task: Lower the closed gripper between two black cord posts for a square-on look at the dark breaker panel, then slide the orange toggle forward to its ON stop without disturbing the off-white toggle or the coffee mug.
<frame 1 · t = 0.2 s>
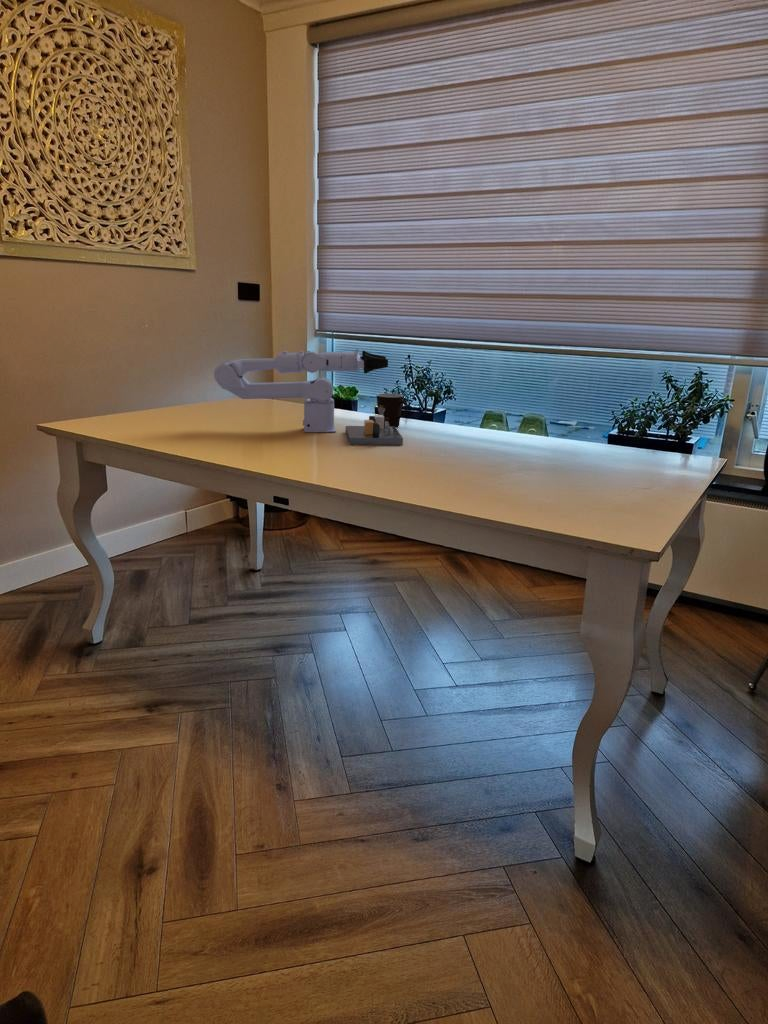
hand: (386, 361, 199), 21 cm above the table, tool horizontal, fingers open, 7 cm apart
toggle orange: (369, 427, 191), point 4 cm above the table, slide at 0.0 cm
coffee mug: (390, 427, 213), on the table
toggle white: (379, 421, 200), point 4 cm above the table, slide at 0.0 cm
panel: (373, 438, 195), on the table
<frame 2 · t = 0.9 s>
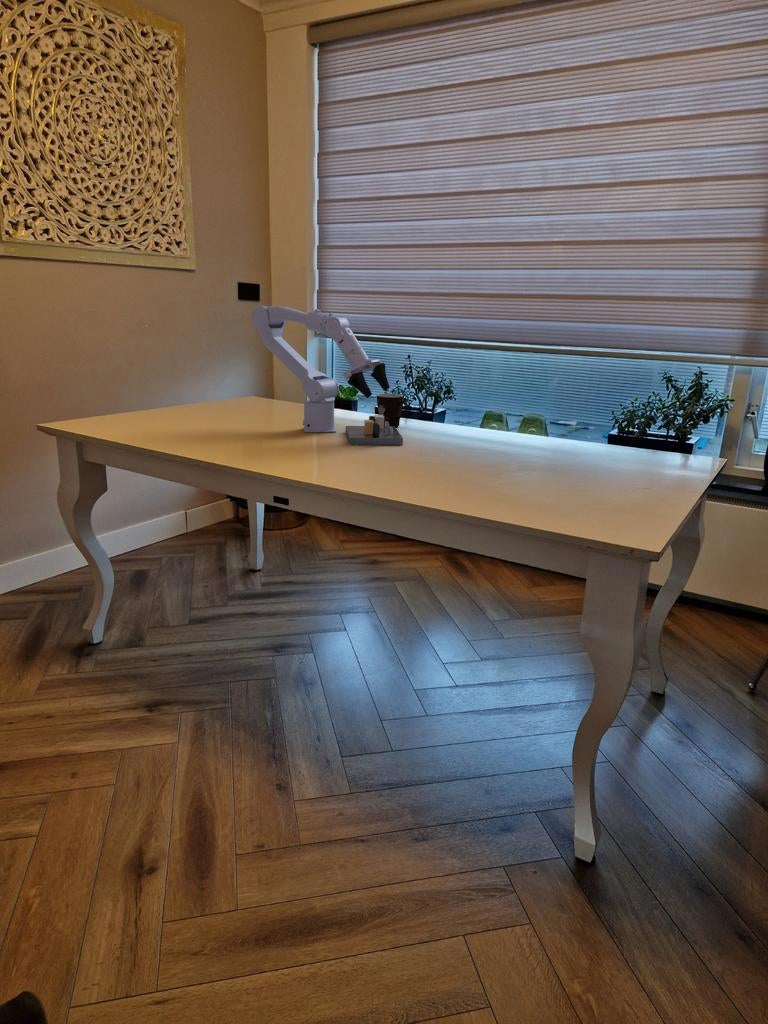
hand: (378, 392, 191), 13 cm above the table, tool tilted 40°, fingers open, 7 cm apart
nothing on the table moved.
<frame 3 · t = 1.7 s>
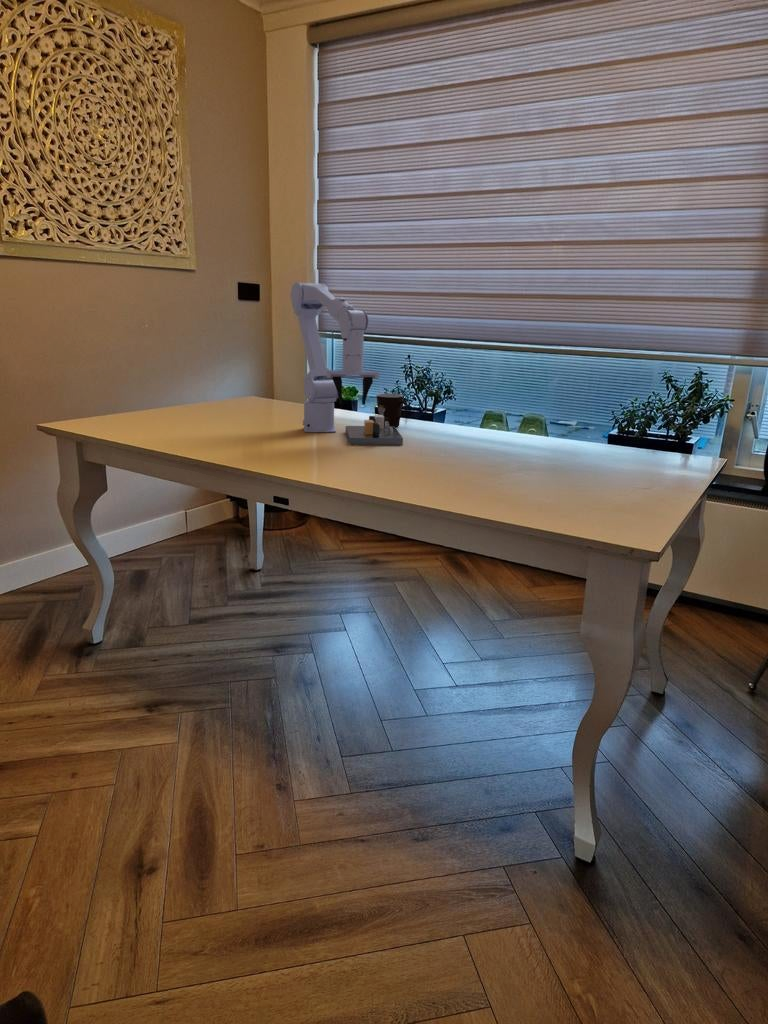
hand: (352, 404, 188), 10 cm above the table, tool pointing down, fingers open, 6 cm apart
nothing on the table moved.
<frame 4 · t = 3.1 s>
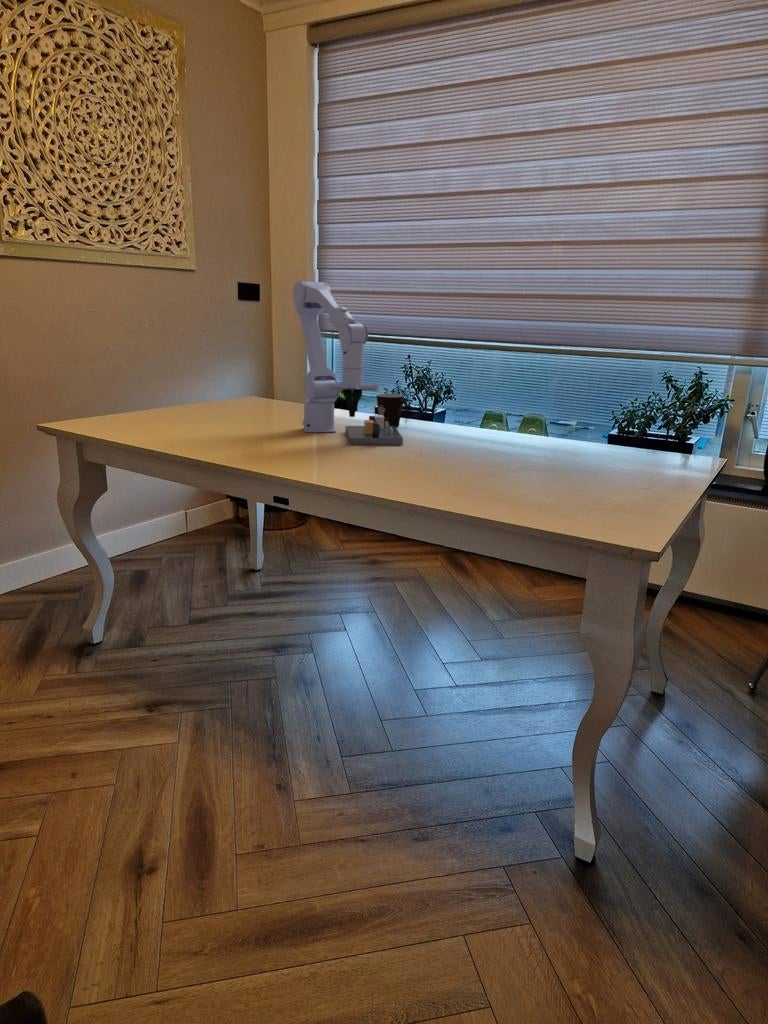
hand: (351, 416, 189), 7 cm above the table, tool pointing down, fingers closed
nothing on the table moved.
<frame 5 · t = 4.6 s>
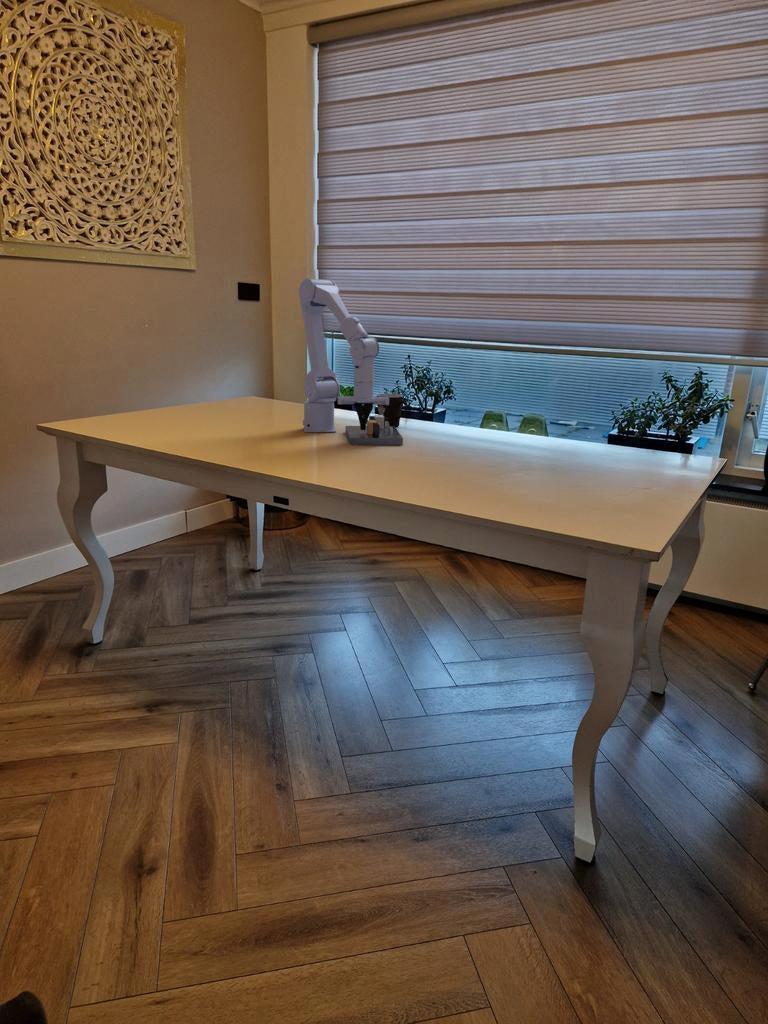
hand: (362, 429, 191), 3 cm above the table, tool pointing down, fingers closed
toggle orange: (371, 427, 191), point 4 cm above the table, slide at 0.8 cm, touching gripper
everything else where it was.
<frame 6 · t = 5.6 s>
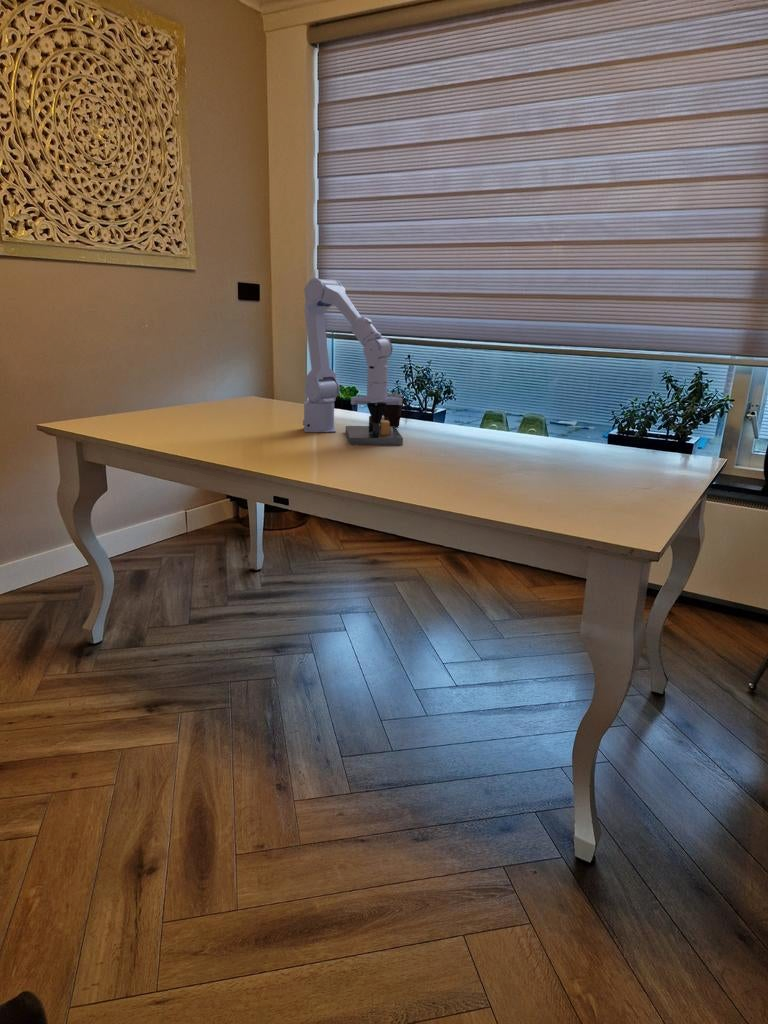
hand: (375, 429, 191), 3 cm above the table, tool pointing down, fingers closed
toggle orange: (384, 427, 191), point 4 cm above the table, slide at 4.5 cm, touching gripper
everything else where it was.
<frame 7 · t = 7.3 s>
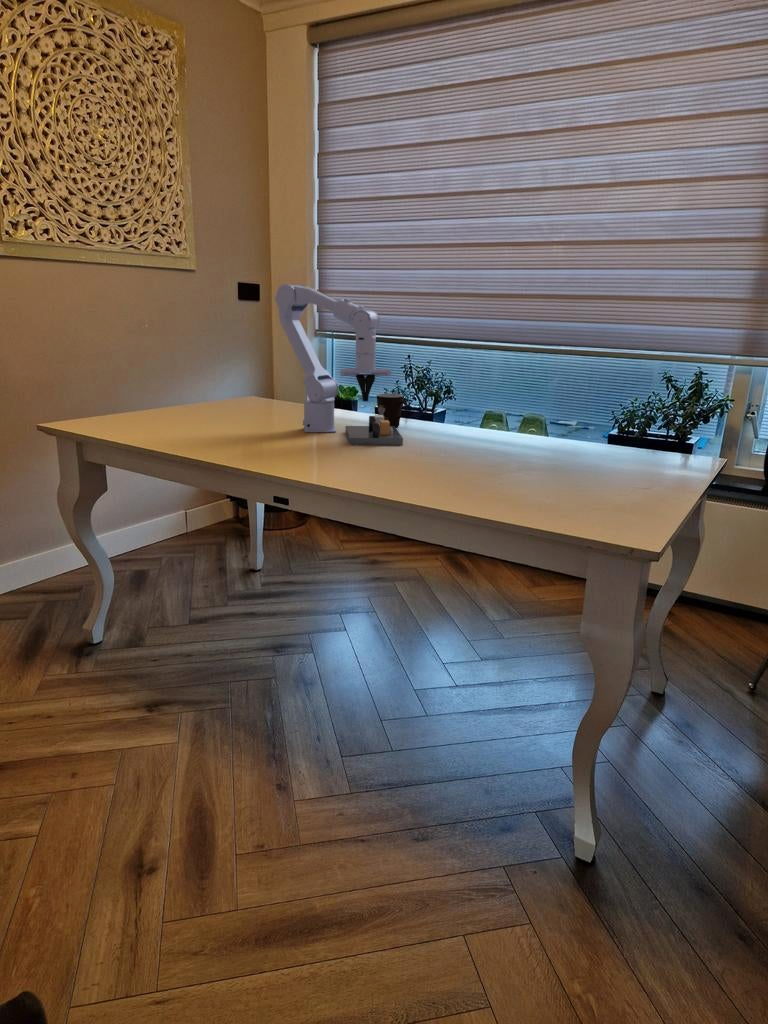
hand: (365, 401, 195), 10 cm above the table, tool pointing down, fingers closed
toggle orange: (384, 427, 191), point 4 cm above the table, slide at 4.5 cm
everything else where it was.
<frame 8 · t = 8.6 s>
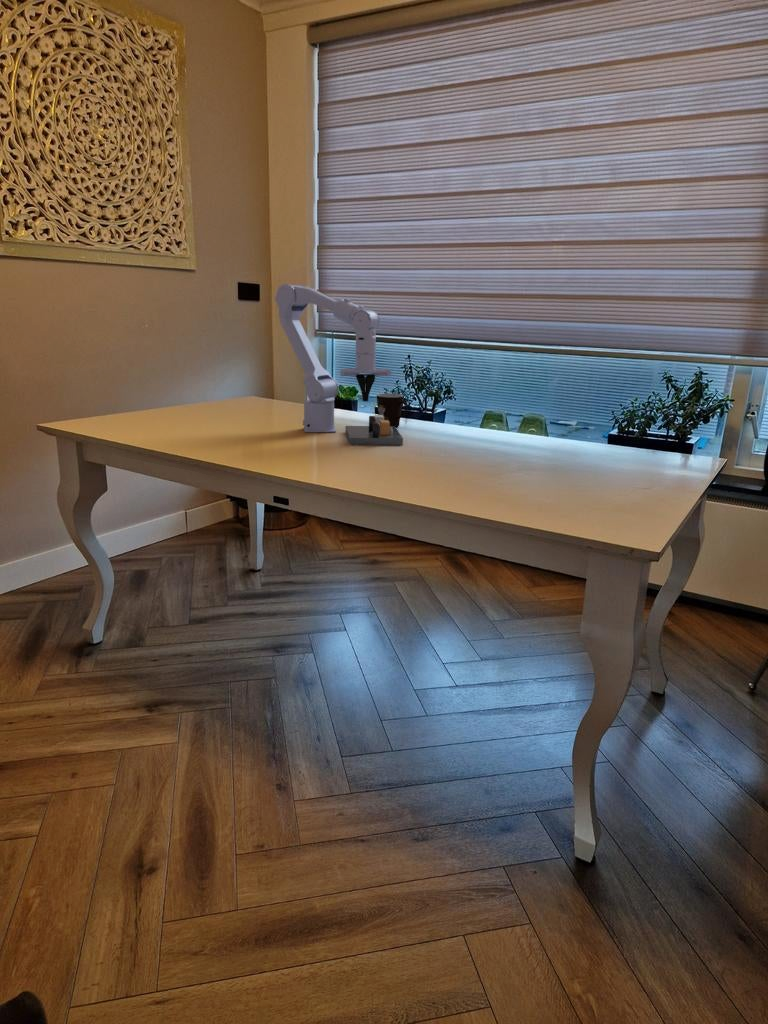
hand: (365, 401, 195), 10 cm above the table, tool pointing down, fingers closed
nothing on the table moved.
at the end: toggle orange slide at 4.5 cm; toggle white slide at 0.0 cm; coffee mug moved 0.2 cm from its start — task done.
